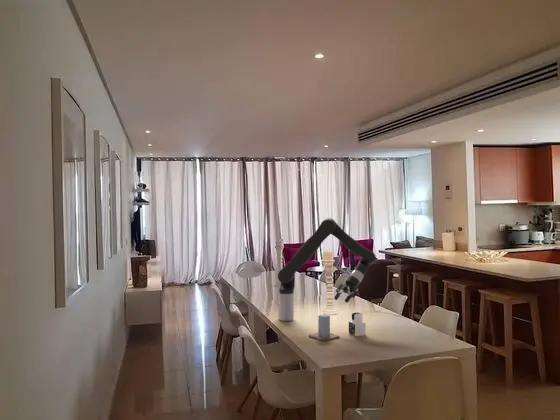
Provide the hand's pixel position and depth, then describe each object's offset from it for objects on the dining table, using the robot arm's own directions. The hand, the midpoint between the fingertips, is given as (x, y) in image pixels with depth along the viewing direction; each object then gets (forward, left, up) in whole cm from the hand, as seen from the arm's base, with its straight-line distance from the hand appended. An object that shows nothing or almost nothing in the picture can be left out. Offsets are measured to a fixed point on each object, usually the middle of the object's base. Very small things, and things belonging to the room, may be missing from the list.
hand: (340, 300), depth 263 cm
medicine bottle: (+10, +3, -18) cm, 21 cm away
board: (+3, -16, -18) cm, 24 cm away
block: (+3, -16, -17) cm, 24 cm away
